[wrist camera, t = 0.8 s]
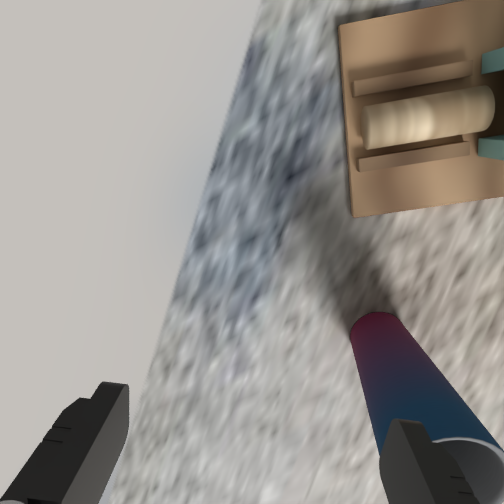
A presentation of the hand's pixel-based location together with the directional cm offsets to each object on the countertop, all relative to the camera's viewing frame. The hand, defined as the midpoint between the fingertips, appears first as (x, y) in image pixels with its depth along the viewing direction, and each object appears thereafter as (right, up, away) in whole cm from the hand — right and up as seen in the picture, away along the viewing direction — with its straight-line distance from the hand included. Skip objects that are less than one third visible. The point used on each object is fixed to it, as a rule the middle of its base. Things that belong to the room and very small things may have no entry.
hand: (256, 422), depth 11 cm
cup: (+12, -3, +24) cm, 26 cm away
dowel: (+12, +15, +16) cm, 25 cm away
